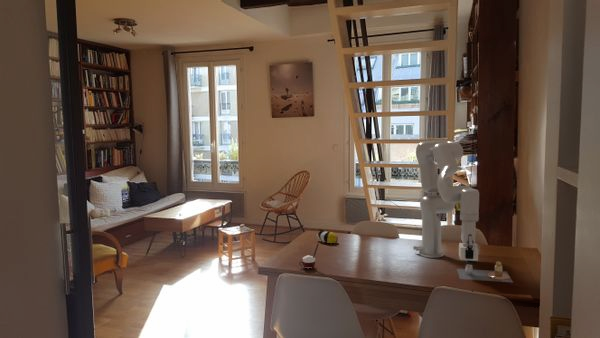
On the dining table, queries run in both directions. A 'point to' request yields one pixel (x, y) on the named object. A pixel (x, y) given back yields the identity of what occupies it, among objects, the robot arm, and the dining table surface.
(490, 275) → the hub
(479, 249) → the watch
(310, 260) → the cocoa
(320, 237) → the figurine
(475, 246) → the square hollow frame
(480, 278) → the board
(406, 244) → the dining table surface
